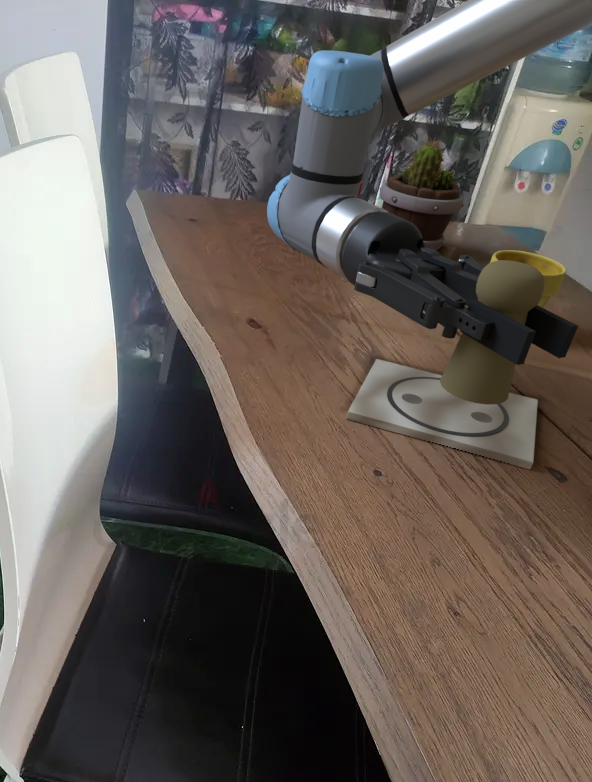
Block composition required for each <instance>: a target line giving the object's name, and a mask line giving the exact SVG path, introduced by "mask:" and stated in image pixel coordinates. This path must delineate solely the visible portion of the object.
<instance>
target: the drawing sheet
mask: <svg viewBox="0 0 592 782" xmlns="http://www.w3.org/2000/svg"><path fill="white" fill-rule="evenodd" d="M442 375H443V374H442ZM442 375H441V374H439V373H433V372H430V371H426V370H422V369H418V368H414V367H410V366H406V365H402V364H399V363H394V362H390V361H387V360H383V359H380V358H379V359H378V358H376V359H375V360H374V363H373V364H372V366H371V369H370V370H369V372H368V373H367V375H366V377H365V379H364V381H363V382H362V384H361V386H360V388H359V390H358V392H357V394H356V396H355V398H354V400H353V401H352V403H351V405H350V406H349V408H348V411H347V414H346V420H348V421H352V422H356V423H359V424H363V425H367V426H370V427H374V428H378V429H381V430H384V431H387V432H391V433H395V434H399V435H403V436H407V437H410V438H414V439H418V440H421V441H424V440H425V441H424V442H428V441H430V442H429V443H432V442H434V443H433V444H435V443H437V444H436V445H439V444H441V445H440V446H442V445H444V446H443V447H446V446H448V447H447V448H450V447H451V448H450V449H453V448H456V449H455V450H457V449H459V450H458V451H460V450H463V451H462V452H464V451H467V452H466V453H468V452H470V453H469V454H471V453H473V454H472V455H475V454H477V455H476V456H479V455H481V456H480V457H482V456H484V457H483V458H486V457H487V458H486V459H489V458H492V459H491V460H493V459H495V460H494V461H497V460H498V461H497V462H500V461H502V462H501V463H504V462H505V463H504V464H508V463H509V464H508V465H512V466H515V467H518V468H522V469H526V470H531V469H532V467H533V465H534V459H535V445H536V432H537V431H536V430H537V417H538V404H539V401H538V399H536V398H533V397H529V396H524V395H521V394H516V393H513V392H509V396H508V399H507V400H506V401H505V402H503V403H500V404H489V405H486V404H479V403H473V402H470V401H466V400H463V399H461V398H458V397H456V396H454V395H452V394H450V393H449V392H447V391H446V390H445V389H444V388H443V387H442V386H441V383H440V380H441V377H442Z"/></svg>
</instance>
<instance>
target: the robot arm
mask: <svg viewBox="0 0 592 782" xmlns="http://www.w3.org/2000/svg"><path fill="white" fill-rule="evenodd" d="M591 25H592V0H466V1H464V2H463V3H461V4H459V5H457V6H455V7H454V8H452V9H450V10H447V12H445V13H443V14H441V15H440V16H438V17H436V18H434V19H432V20H430V21H429V22H427V23H425V24H423V25H422V26H420V27H418V28H416V29H415V30H413V31H411V32H409V33H408V34H406V35H404V36H402V37H400V38H399V39H397V40H395V41H393V42H392V43H390V44H388V45H387V46H385V47H384V48H382V49H380V50H378V51H375V52H373V53H372V54H370V55H367V54H364V53H363V54H361V53H358V52H357V53H356V52H348V51H341V50H325V49H324V50H323V49H322V50H318V51H316V52H315V53H313V54H312V56H311V57H310V59H309V62H308V65H307V66H308V67H307V71H306V76H305V81H304V84H303V85H302V88H301V89H302V90H301V95H302V99H301V106H300V112H299V113H300V114H299V118H298V125H297V126H298V127H297V132H296V139H295V147H294V155H293V159H292V165H291V169H290V174H288V175H286V176H284V177H283V178H282V179H280V181H278V183H277V184H276V185H275V188H274V189H273V191H272V193H271V195H270V196H269V197H268V202H267V207H266V215H267V221H268V224H269V227H270V229H271V231H272V232H273V233H274V235H276V236H277V238H279V239H280V240H282V241H283V242H284V243H285V245H287V247H289V248H291V250H293V251H296V252H298V253H301V254H303V256H306V257H308V258H310V259H311V260H313V261H315V262H316V263H319V265H321V266H323V267H324V268H326V269H327V270H329V271H330V272H332V273H334V274H336V275H337V276H338V277H340V280H341V281H342V282H343V283H348V282H349V283H350V284H351V285H352V286H354V288H353V290H354V291H356V292H357V293H361V294H363V295H366V296H369V297H372V298H374V299H376V300H377V301H379V302H381V303H383V305H385V306H388V307H389V308H391V309H393V310H395V311H396V312H398V313H400V315H403V316H404V317H406V318H408V319H410V320H412V321H413V322H414V323H416V324H418V325H420V326H422V327H424V328H426V329H428V330H434V329H437V326H438V325H441V326H442V327H443V330H442V333H441V337H443V338H446V339H451V340H452V339H455V338H456V335H457V332H458V330H459V331H460V333H463V334H465V335H467V336H469V337H470V338H472V339H474V340H475V341H477V342H479V343H480V344H482V345H484V346H485V347H487V348H489V349H491V350H492V351H494V352H496V353H497V354H499V355H501V356H502V357H504V358H506V359H508V360H509V361H511V362H513V363H514V364H516V366H519V365H524V364H525V362H526V359H527V357H528V354H529V351H530V349H531V346H532V345H534V346H536V347H537V348H539V349H541V350H543V351H544V352H546V353H548V354H550V355H552V356H554V357H556V358H557V359H564V358H567V357H566V356H567V354H568V352H569V350H570V348H571V345H572V342H573V340H574V338H575V336H576V333H577V330H578V328H579V325H578V324H576V323H574V322H572V321H570V320H568V319H566V318H564V317H562V316H560V315H558V314H556V313H554V312H552V311H549V310H548V309H545V307H544V308H542V307H540V306H538V305H536V306H535V307H534V308H532V309H531V310H530V311H528V314H527V318H526V323H525V325H523V324H521V323H519V322H517V321H516V320H514V319H512V318H510V317H508V316H506V315H504V314H502V313H501V312H499V311H497V310H495V309H493V308H491V307H488V306H486V305H484V304H483V303H481V302H480V301H478V297H477V294H476V284H477V281H478V277H479V275H480V273H481V272H482V270H483V268H484V267H485V266H486V265H483V264H481V263H479V262H477V260H476V259H475V258H473V257H472V256H470V255H469V254H461V255H459V257H458V260H457V261H456V260H453V259H450V258H448V257H445V256H443V255H441V254H440V252H439V251H437V250H433V249H430V248H425V246H424V242H423V239H422V235H421V233H420V231H419V229H418V228H417V227H416V226H415V225H414V224H413V223H411V222H409V221H407V220H405V219H402V218H400V217H398V216H396V215H394V214H392V213H389V212H388V211H387V210H385V209H383V207H380V206H378V205H376V204H373V203H372V202H369V201H367V200H366V199H365V200H364V199H362V198H361V197H359V198H358V192H359V188H360V183H361V181H362V179H363V175H364V168H365V164H366V159H367V155H368V151H369V146H370V142H371V137H372V136H373V135H375V134H377V133H379V132H381V131H383V130H384V129H386V128H389V127H390V126H393V125H394V124H396V123H399V122H400V121H402V120H404V119H405V118H407V117H409V116H411V115H413V114H415V113H417V112H419V111H422V110H423V109H425V108H427V107H429V106H431V105H433V104H434V103H437V102H439V101H441V100H443V99H445V98H447V97H449V96H451V95H453V94H455V93H457V92H458V91H461V90H463V89H465V88H466V87H469V86H470V85H473V84H475V83H477V82H478V81H481V80H483V79H486V78H487V77H489V76H490V75H493V74H494V73H496V72H499V71H501V70H503V69H505V68H507V67H508V66H510V65H513V64H514V63H517V62H518V61H520V60H522V59H525V58H527V57H529V56H530V55H532V54H534V53H537V52H538V51H541V50H542V49H544V48H546V47H548V46H551V45H552V44H554V43H556V42H558V41H561V40H562V39H565V38H566V37H568V36H570V35H572V34H574V33H576V32H578V31H580V30H582V29H584V28H587V27H589V26H591Z"/></svg>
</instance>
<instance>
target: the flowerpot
mask: <svg viewBox="0 0 592 782" xmlns="http://www.w3.org/2000/svg"><path fill="white" fill-rule="evenodd" d="M436 137H437V135H436V134H435V135H434V138H433V140H432V138H431V137H430V136H428V138H429V139H430V140H429V141H428V139H426V140H425V141H426V142H427V143H425V142H424V141H422V143H423V144H424V145H423V146H421V145H422V144H420V145H417V147H418V150H417V148H416V149H415V150H414V151H413V153H412V155H410V159H412V161H409V162H408V163H406V167H405V168H404V170H403V172H401V173H397V174H394V175H393V176H390V177H389V178H388V180H387V181H385V182H383V183H382V185H381V186H380V187H379V191H380V192H379V197H380V199H381V201H383V204H382V205H383V206H382V209H385V210H387V211H388V212H389V213H392V214H394V215H396V216H398V217H400V218H402V219H405V220H407V221H409V222H411V223H413V224H414V225H415V226H416V227H417V228H418V229H419V231H420V233H421V235H422V239H423V242H424V246H425V248H430V249H433V250H435V251H437V250H440V248H441V247H442V246H444V242H445V236H444V233H445V231H446V229H447V227H448V226H449V224H450V222H451V220H452V218H453V215H454V214H457V213H459V212H460V211H461V209H462V208H463V207H464V206H465V203H464V196H463V195H462V194H461V193H460V192H461V191H460V187H459V185H457V184H456V183H455V182H454V181H455V179H454V175H455V173H453V172H455V170H454V169H452V170H451V171H448V170H449V168H450V166H446V167H444V166H443V165H442V164H444V163H446V161H447V160H449V159H446V158H447V156H448V155H446V154H445V151H444V150H441V149H442V145H443V144H442V142H441V139H439V140H436ZM435 140H436V141H435ZM439 142H440V143H439ZM416 150H417V151H416Z"/></svg>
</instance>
